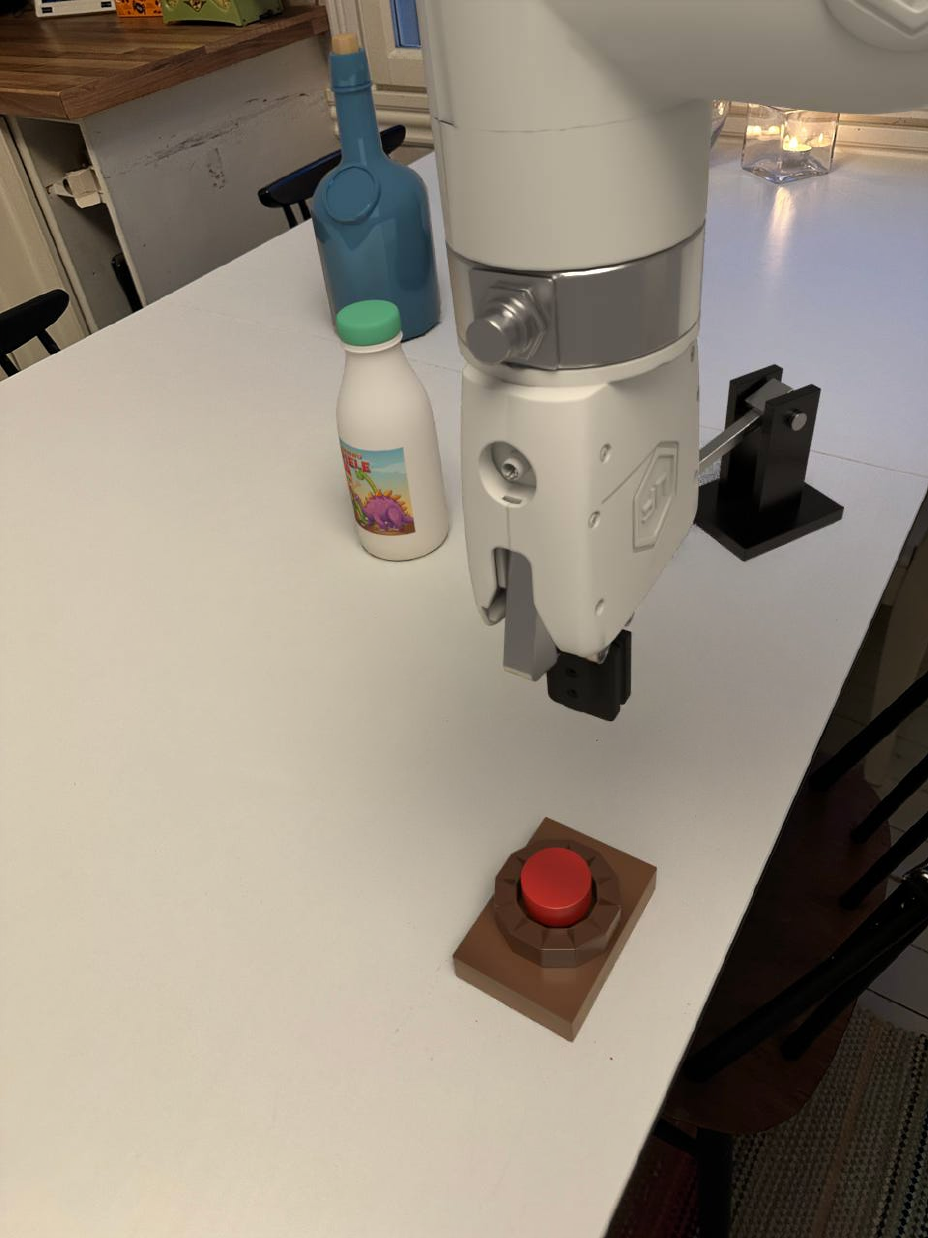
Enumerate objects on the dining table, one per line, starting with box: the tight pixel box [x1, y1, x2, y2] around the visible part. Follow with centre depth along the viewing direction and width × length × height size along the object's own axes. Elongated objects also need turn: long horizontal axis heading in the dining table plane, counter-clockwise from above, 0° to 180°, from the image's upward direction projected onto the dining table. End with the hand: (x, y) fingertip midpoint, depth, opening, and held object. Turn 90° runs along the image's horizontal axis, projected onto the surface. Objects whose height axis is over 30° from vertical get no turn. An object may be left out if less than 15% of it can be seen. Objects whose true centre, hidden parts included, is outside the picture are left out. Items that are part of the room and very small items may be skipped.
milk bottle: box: [335, 300, 449, 562], centre depth 73 cm, size 8×8×20 cm
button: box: [521, 848, 592, 927], centre depth 48 cm, size 4×4×2 cm
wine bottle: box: [310, 32, 442, 342], centre depth 101 cm, size 14×13×30 cm
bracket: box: [693, 363, 845, 562], centre depth 73 cm, size 10×9×12 cm
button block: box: [452, 816, 658, 1043], centre depth 49 cm, size 10×7×4 cm
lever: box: [699, 378, 795, 475], centre depth 70 cm, size 13×5×2 cm, turn 117°
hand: (589, 698), depth 40 cm, fingers closed
